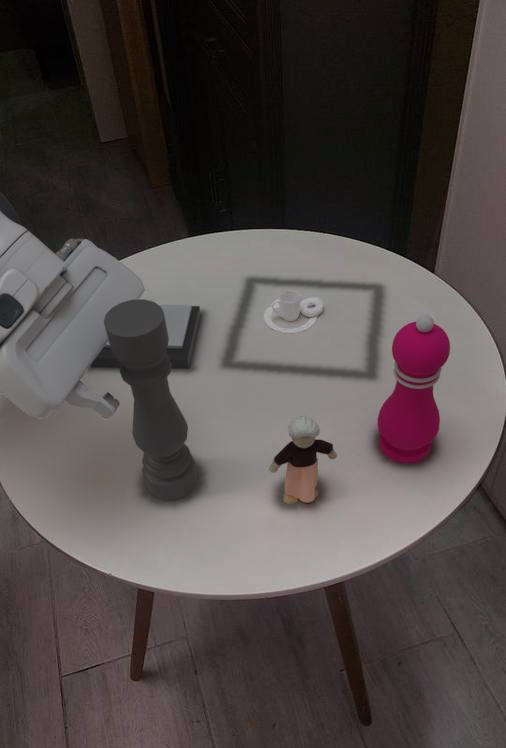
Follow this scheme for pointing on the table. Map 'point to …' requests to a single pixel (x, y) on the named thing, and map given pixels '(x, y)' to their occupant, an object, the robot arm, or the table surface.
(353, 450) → the table surface
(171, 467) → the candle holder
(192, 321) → the scale
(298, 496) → the grandmother figurine
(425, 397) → the pepper mill
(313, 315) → the teacup and saucer
